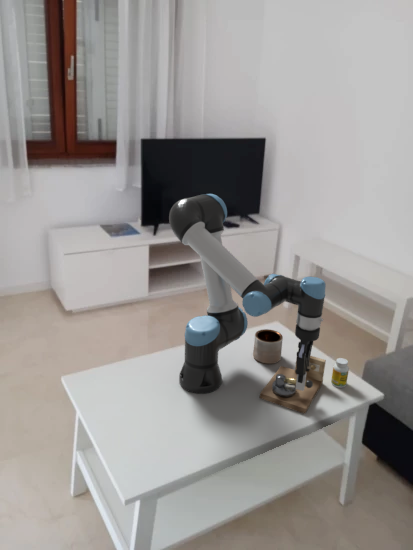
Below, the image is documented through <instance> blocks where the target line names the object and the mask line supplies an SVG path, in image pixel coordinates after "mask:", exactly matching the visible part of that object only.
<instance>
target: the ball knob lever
mask: <svg viewBox="0 0 413 550" xmlns="http://www.w3.org/2000/svg"><path fill="white" fill-rule="evenodd" d="M296 380H297V379H293V378H287V377H285V375H283V374H277V375H276V381H274V382H273V384H272V391H273V393H274V394H276V395H277V396H280V397H292V396H294V395H295V393H296V389H295V388H296V385H295V384H296ZM305 386H306V387H307V388H311V387H312V386H313V382H312V381H311V380H307V381H305Z"/></svg>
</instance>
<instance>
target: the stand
mask: <svg viewBox="0 0 413 550" xmlns="http://www.w3.org/2000/svg"><path fill="white" fill-rule="evenodd" d="M296 365H297V357H296V360H295V367H294V368H293V369H292V368H290V367H286V366H284V365H283V366H282V365H280V366H279V368H278V369H277V371H276V372H274V374H273V376H271V378H270V380H269V381H268V382H267V383H266V384H265V386H264V388H263V389H262V390H261V391H260V392H259V399H261V400H264V401H267V402H270V403H273V404H274V405H275V404H276V405H277V406H278V405H279V406H281V407H284V408H288V409H290V410H292V411H296V412H298V413H300V414H306V413H307V411H308V410H309V408H310V407H311V404H312V403H313V401H314V399H315V397H316V396H317V394H318V392H319V391H320V389H321V387H322V386H323V382H324V375H325V367H326V359H324V358H320V357H317V356H313V355H310V361H309V366H308V367H307V369H310V370H309V372H308V371H306V372H307V373H306V381H307V380H311V381H312V382H313V386H312V387H311V388H307V387H306V386H305V388H304V391H302V390H298V389H296V393H295V395H294V396H292V397H280V396H277V395H276V394H274V393H273V391H272V384H273V382H274V381H276V375H277V374H283V375H285V377H287V378H293V379H297V374H296V372H295V371H296ZM295 385H296V384H295Z"/></svg>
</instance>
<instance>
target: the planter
mask: <svg viewBox="0 0 413 550" xmlns="http://www.w3.org/2000/svg"><path fill="white" fill-rule="evenodd" d="M283 340H284V337H283V334H281V332H280V331H278V330H274V329H268V328H267V329H265V328H264V329H260V330H258V331H256V332H255V334H254V340H253V341H254V342H253V350H252V351H253V352H252V355H253V358H254V360H256V361H257V362H259V363H262V364H267V365H269V364H270V365H272V364H275V363H278V362H279V361H280V360H281V357H282V351H283V350H282V348H283Z"/></svg>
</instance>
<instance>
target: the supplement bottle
mask: <svg viewBox="0 0 413 550" xmlns="http://www.w3.org/2000/svg"><path fill="white" fill-rule="evenodd" d="M348 364H349V361H348V360H347V359H346V358H342V357H338V358H336V361H335V363H334V364H333V367H332V373H331V379H330V380H331V383H330V384H332V386H333V387H336V388H338V389H340V388H342V389H343V388H345V387H346V386H347V383H348V375H349V371H350V368H349V366H348Z"/></svg>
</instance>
